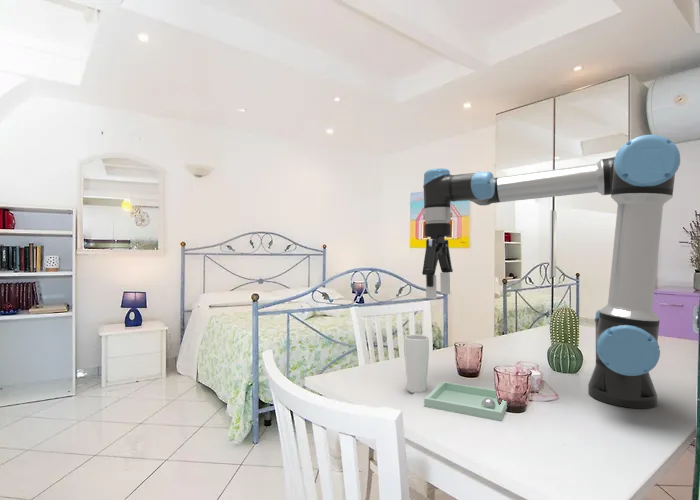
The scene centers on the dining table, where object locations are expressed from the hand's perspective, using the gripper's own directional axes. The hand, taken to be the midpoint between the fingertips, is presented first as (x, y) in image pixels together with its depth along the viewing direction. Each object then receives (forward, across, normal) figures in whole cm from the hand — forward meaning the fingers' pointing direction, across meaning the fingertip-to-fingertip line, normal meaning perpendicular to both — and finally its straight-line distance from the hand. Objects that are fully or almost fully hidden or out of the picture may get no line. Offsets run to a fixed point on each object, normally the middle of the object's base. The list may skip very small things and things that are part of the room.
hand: (438, 296), depth 119 cm
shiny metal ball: (+25, +15, +16) cm, 34 cm away
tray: (+26, +12, +11) cm, 30 cm away
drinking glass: (+26, +8, -4) cm, 27 cm away
